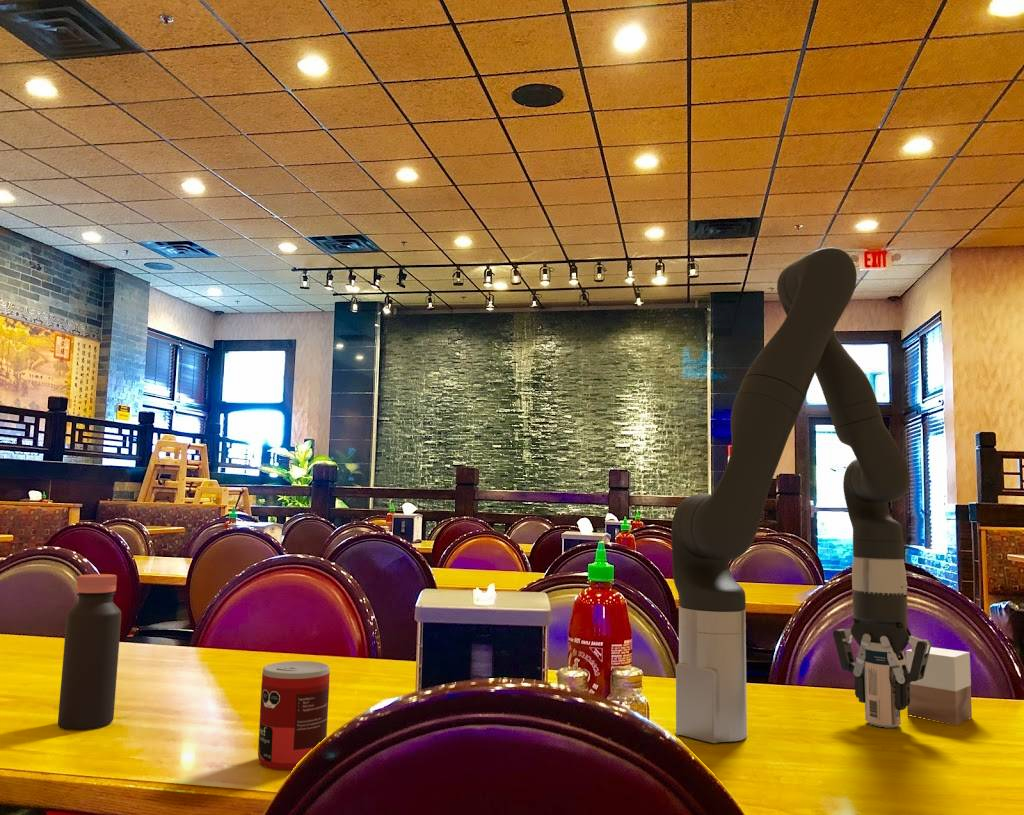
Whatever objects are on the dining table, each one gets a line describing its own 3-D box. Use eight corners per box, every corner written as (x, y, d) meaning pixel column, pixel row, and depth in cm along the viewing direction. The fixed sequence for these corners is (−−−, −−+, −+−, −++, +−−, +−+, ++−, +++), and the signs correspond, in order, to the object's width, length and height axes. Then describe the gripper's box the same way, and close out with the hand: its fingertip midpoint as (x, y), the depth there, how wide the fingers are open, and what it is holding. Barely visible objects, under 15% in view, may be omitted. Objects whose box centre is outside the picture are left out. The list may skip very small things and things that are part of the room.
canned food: (264, 751, 102) (269, 660, 103) (329, 751, 103) (333, 660, 104) (250, 771, 94) (255, 673, 96) (320, 771, 95) (325, 673, 96)
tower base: (956, 726, 122) (955, 691, 123) (907, 717, 127) (906, 683, 128) (971, 718, 127) (970, 685, 127) (924, 709, 132) (922, 677, 132)
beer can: (904, 730, 118) (901, 645, 120) (869, 728, 119) (867, 643, 121) (896, 722, 123) (893, 640, 125) (862, 719, 124) (860, 638, 125)
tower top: (955, 691, 123) (954, 657, 123) (906, 683, 128) (905, 650, 128) (970, 685, 127) (969, 652, 128) (923, 677, 132) (922, 645, 133)
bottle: (56, 733, 107) (69, 578, 110) (58, 720, 113) (70, 573, 116) (114, 728, 111) (125, 577, 113) (112, 716, 117) (123, 573, 119)
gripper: (821, 585, 126) (824, 700, 124) (920, 594, 116) (924, 719, 114) (842, 583, 131) (845, 693, 129) (938, 591, 121) (943, 710, 119)
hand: (882, 704), depth 122 cm, fingers closed on beer can, 4 cm apart
